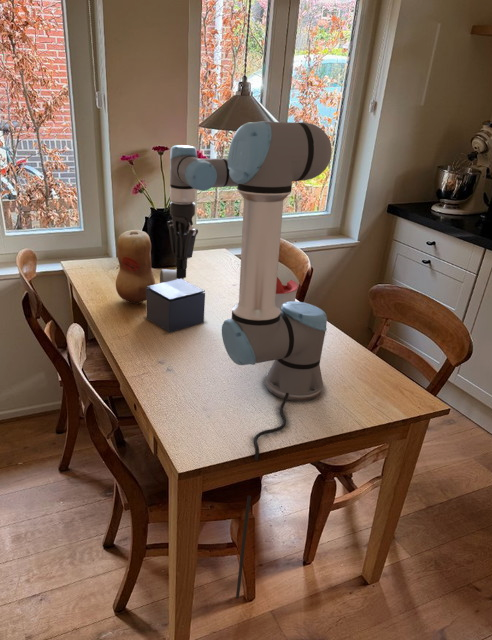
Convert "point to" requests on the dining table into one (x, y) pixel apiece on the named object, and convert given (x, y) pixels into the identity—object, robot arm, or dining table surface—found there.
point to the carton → (173, 307)
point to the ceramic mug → (168, 275)
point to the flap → (185, 287)
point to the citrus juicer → (285, 292)
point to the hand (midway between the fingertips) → (181, 277)
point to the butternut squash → (134, 266)
